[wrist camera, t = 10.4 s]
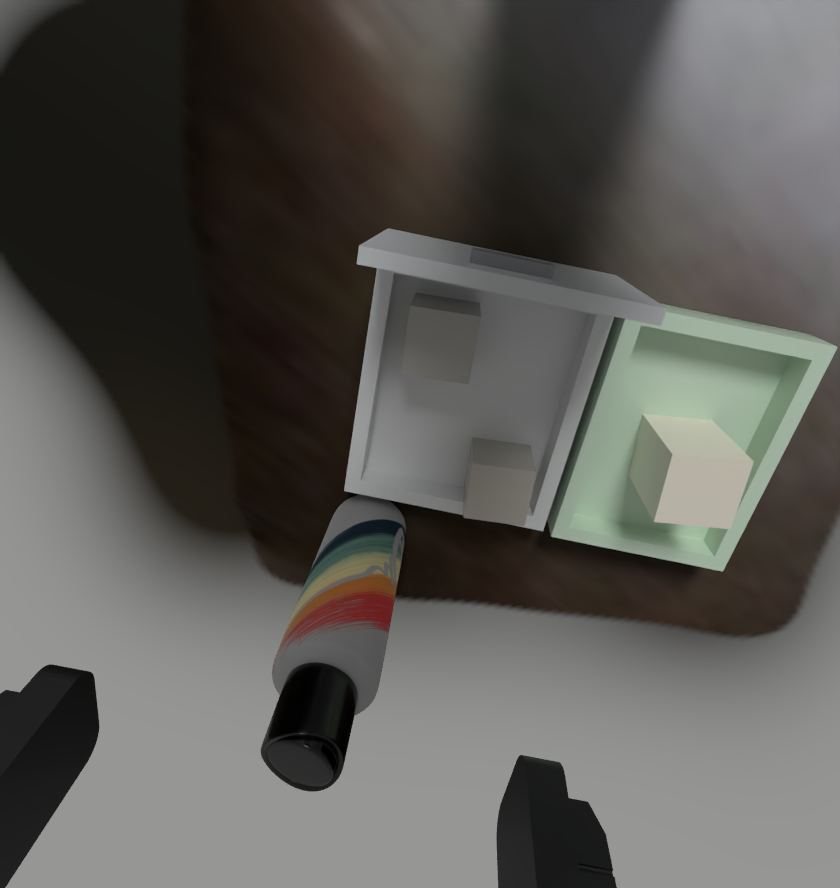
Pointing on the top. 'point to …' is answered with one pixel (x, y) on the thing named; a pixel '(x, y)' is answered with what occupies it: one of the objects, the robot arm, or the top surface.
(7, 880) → the robot arm
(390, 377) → the grey bin
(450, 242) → the grey drawer face panel
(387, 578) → the lotion bottle
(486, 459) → the pale grey block
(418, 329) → the grey cubic sharp-edged block
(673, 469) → the beige block
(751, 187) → the top surface
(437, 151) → the top surface
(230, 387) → the top surface
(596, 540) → the green bin
